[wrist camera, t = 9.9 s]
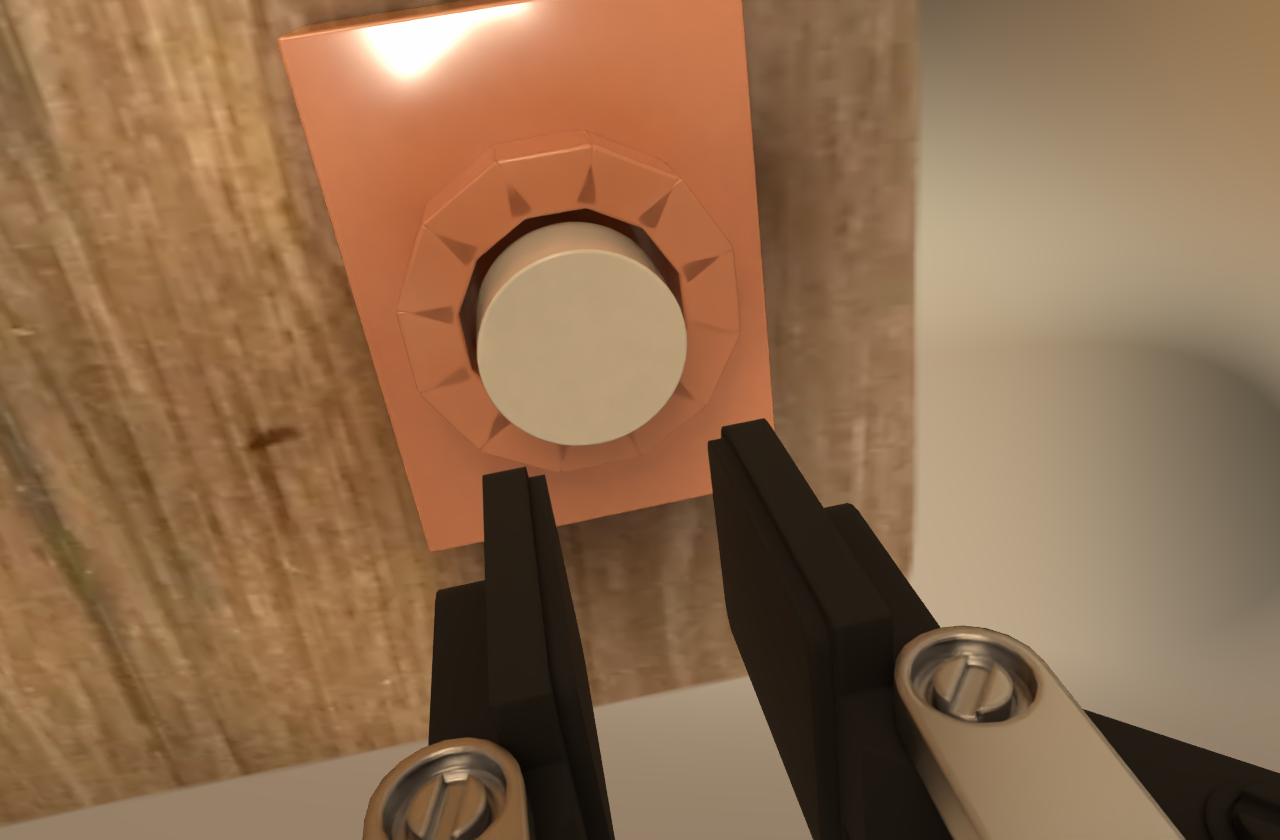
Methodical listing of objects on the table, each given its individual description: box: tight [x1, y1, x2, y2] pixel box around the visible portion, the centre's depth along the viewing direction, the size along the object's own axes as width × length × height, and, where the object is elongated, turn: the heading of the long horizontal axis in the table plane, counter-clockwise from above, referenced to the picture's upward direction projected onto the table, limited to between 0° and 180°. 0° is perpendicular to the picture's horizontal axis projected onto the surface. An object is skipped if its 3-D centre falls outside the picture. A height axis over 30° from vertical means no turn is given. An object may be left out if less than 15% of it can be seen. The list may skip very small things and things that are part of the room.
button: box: [476, 222, 687, 446], centre depth 18 cm, size 4×4×2 cm
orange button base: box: [277, 0, 775, 552], centre depth 21 cm, size 12×9×5 cm
